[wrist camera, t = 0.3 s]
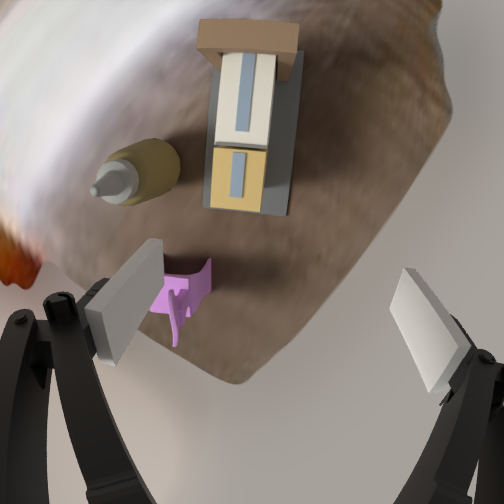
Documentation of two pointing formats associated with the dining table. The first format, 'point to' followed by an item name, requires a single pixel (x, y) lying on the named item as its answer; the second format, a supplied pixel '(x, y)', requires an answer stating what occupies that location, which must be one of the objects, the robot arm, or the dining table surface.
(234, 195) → the stub
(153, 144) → the squeeze bottle
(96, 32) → the dining table surface
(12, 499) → the robot arm
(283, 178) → the mat
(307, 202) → the dining table surface
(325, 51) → the dining table surface
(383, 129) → the dining table surface
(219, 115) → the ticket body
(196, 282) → the pink scoop
